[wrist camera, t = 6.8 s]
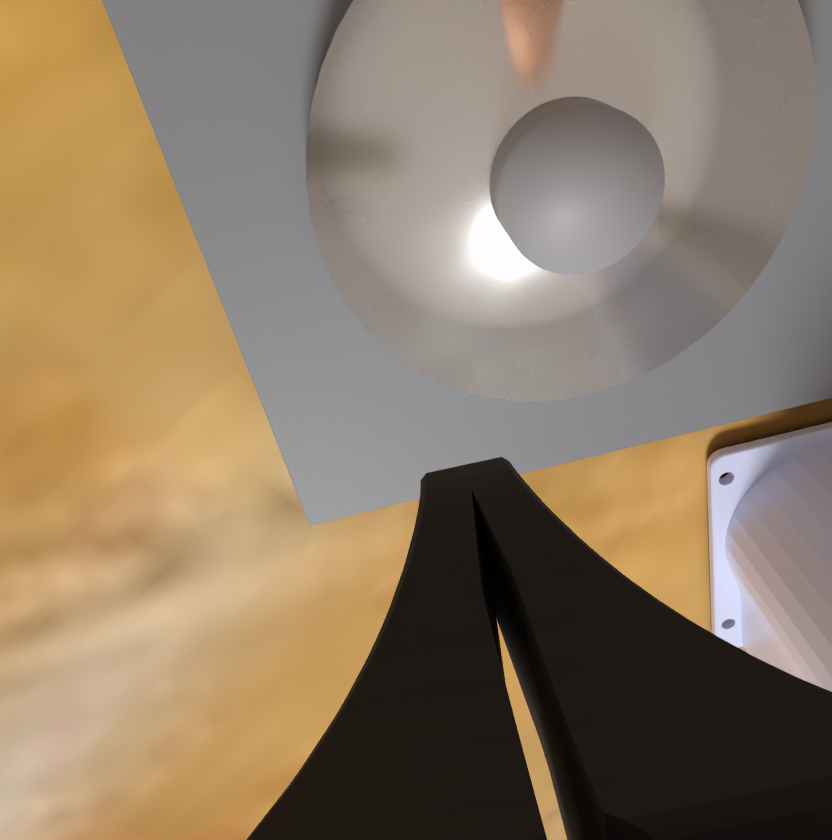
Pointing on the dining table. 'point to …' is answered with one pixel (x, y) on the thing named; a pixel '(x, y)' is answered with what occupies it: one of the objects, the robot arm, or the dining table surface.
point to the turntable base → (338, 361)
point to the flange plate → (476, 148)
